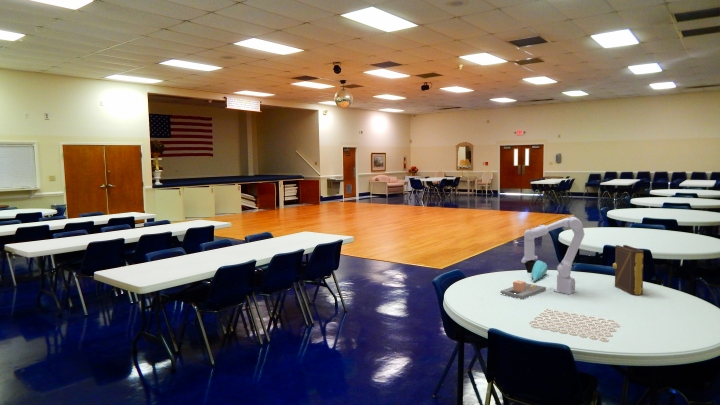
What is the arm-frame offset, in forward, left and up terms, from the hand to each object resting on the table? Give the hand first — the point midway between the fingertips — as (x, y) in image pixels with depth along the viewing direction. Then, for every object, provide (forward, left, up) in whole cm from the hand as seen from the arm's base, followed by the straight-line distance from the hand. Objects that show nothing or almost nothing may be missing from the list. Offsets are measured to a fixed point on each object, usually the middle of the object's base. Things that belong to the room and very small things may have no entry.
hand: (529, 272), depth 276 cm
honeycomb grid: (-45, +37, -11) cm, 60 cm away
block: (0, +11, -8) cm, 14 cm away
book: (-39, -39, -11) cm, 56 cm away
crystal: (+12, -31, -11) cm, 35 cm away
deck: (0, +7, -10) cm, 13 cm away
